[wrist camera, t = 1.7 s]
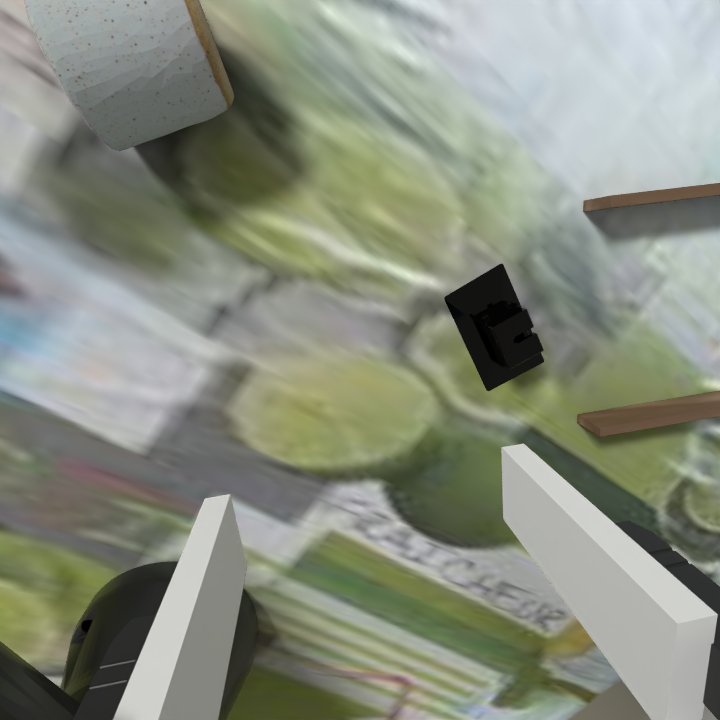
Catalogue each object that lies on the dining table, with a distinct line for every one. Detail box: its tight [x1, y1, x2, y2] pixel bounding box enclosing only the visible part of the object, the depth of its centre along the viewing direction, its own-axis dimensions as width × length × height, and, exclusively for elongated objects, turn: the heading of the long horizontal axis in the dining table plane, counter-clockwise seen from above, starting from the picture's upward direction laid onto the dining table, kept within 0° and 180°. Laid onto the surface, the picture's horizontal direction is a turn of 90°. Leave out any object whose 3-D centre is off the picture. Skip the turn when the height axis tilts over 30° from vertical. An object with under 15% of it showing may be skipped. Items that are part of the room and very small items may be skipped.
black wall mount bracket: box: [444, 264, 544, 391], centre depth 32 cm, size 12×7×5 cm, turn 29°
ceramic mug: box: [25, 0, 234, 151], centre depth 23 cm, size 11×8×8 cm
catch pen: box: [577, 183, 720, 437], centre depth 34 cm, size 19×19×3 cm
